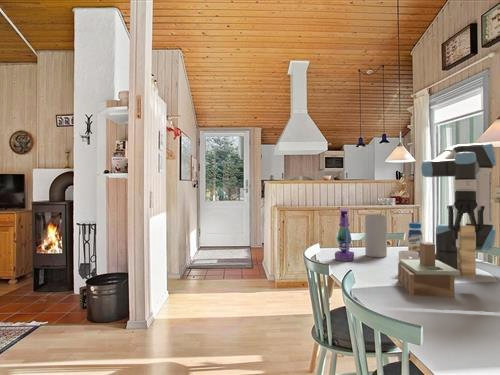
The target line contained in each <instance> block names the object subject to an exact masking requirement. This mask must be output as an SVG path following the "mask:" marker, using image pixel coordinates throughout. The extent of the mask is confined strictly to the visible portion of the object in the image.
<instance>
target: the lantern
mask: <svg viewBox="0 0 500 375" xmlns="http://www.w3.org/2000/svg"><path fill="white" fill-rule="evenodd" d="M339 212H340V217H339V224H338V225H339V228H338V233H337V238H336V241H337V244H338V245H339V250H337V251H335V253H334V259H335V260H336V261H339V262H350V261H351V262H352V261H354V259H355V252H354V251H351V249H350V244H351V243H352V236H351V231H350V228H349V227H350V223H349V217H348V212H349V209H347V208H346V209H345V208H343V209H342V208H341V209H340V210H339Z"/></svg>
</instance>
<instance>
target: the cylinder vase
mask: <svg viewBox="0 0 500 375" xmlns="http://www.w3.org/2000/svg"><path fill="white" fill-rule="evenodd" d="M364 215H365V217H364V224H365V227H364V228H365V229H364V230H365V231H364V232H365V233H364V235H365V236H364V237H365V245H364V246H365V251H364V252H365V256H366V257H370V258H380V259H381V258H385V257H387V255H388V251H387V250H388V249H387V247H388V243H387V242H388V241H387V240H388V237H387V232H388V231H387V215H386V214H364Z"/></svg>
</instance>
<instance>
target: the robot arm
mask: <svg viewBox="0 0 500 375" xmlns="http://www.w3.org/2000/svg"><path fill="white" fill-rule="evenodd" d="M495 166H497V158H496V153H495V147H494V145H493V144H492V143H490V142H480V143H478V142H477V143H467V144H466V143H463V144H455V145H452V146H450V147H447V148H444V149H442V150H441V151H439V153H438V154H437V156H436V157H435V158H433V159H432V160H430V159H428V160H423V161H422V162H421V166H420V169H421V176H423V177H425V178H439V177H441V178H443V177H444V178H445V177H449V178H450V177H451V178H452V177H454V190H455V191H454V202H453V204H451V205H447V206H446V208H447V211H448V213H447V214H448V218H447V220H448V222H447V223H442V224H438V225H437V226H436V227H435V228H436V229H435V260H438V261H440V262H442V263H444V264H446V265H448V266H450V267H452V268H454V269H456V270H458V266H457V248H460V232H459V231H458V230H459V226H460V225H462V223H461V222H462V218H463V216H464V214H467V215H468V221H466V222H465V225H466V226H475V251H481V252H491V251H493V249H494V247H495V241H496V237H497V228H496V227H494V225H493V224H494V223H492V222H491V221H490V173H491V171H493V170H494V167H495ZM455 209H456V210H457V211H456V217H455V221H454V216H455V214H454V212H455Z"/></svg>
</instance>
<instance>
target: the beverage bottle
mask: <svg viewBox="0 0 500 375" xmlns="http://www.w3.org/2000/svg"><path fill="white" fill-rule="evenodd" d="M408 228H409V230H408V232H407V235H408V236H407V244H408V245H407V251H416V252H418V253H419V257H420V242H423V232H422V230H421V228H422V223H421V222H409V223H408Z"/></svg>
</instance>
